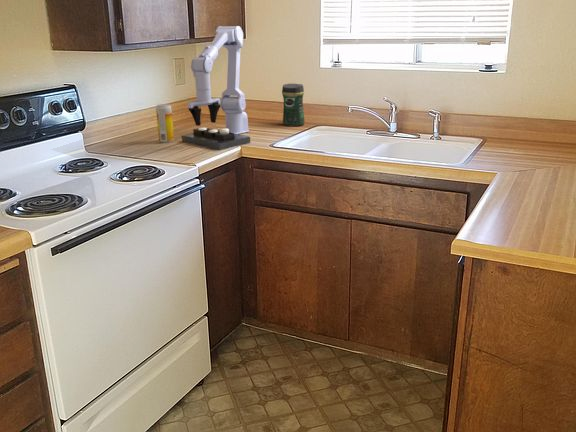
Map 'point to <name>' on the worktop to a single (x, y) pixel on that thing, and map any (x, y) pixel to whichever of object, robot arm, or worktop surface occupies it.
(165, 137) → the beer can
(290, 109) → the coffee jar
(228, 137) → the push button control box
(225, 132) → the button
